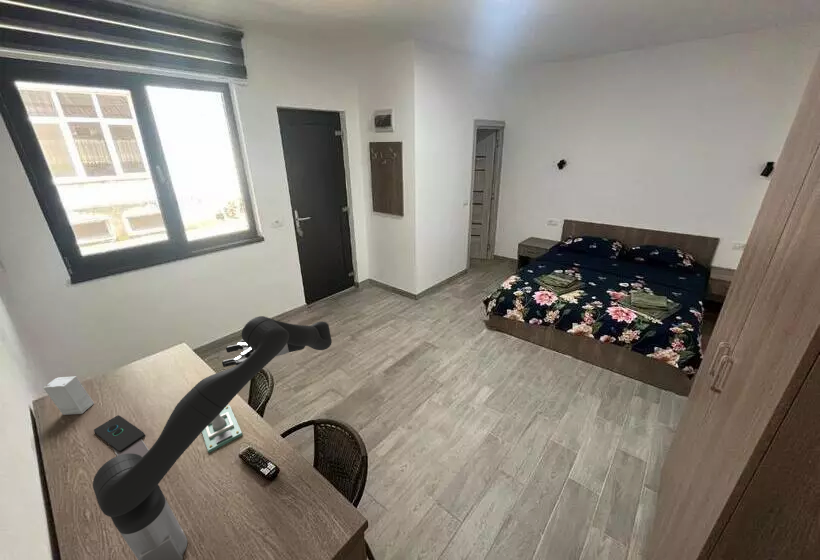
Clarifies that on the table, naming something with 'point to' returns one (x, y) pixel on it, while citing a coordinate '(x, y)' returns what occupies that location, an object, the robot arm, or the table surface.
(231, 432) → the header board
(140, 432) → the smart home device
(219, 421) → the rook chess piece
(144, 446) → the smartphone
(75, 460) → the table surface
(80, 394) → the skincare box
